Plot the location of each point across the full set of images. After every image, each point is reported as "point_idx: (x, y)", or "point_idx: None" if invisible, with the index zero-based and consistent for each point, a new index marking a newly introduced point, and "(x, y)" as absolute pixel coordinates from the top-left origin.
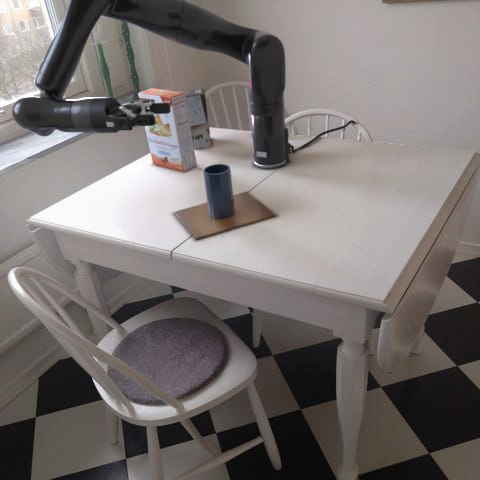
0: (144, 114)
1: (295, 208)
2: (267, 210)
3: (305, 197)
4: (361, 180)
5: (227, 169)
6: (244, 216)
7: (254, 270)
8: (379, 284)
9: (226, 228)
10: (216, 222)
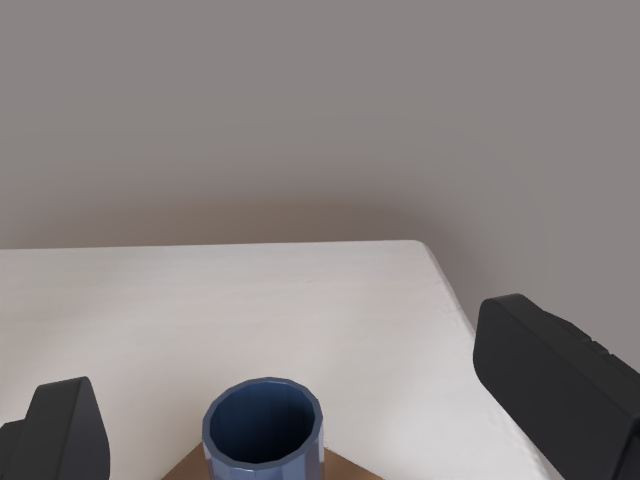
0: (564, 350)
1: (188, 387)
2: None
3: (116, 392)
4: (21, 334)
5: (223, 412)
6: None
7: None
8: (393, 246)
9: (369, 472)
10: None
